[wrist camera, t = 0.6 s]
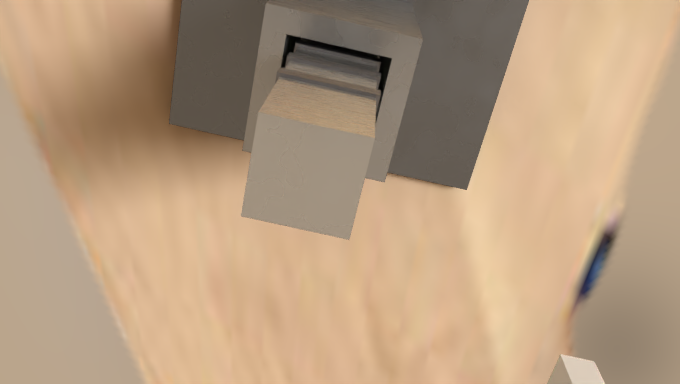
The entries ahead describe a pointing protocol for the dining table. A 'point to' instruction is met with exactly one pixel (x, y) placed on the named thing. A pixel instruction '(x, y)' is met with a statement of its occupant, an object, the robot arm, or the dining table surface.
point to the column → (314, 140)
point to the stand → (363, 35)
